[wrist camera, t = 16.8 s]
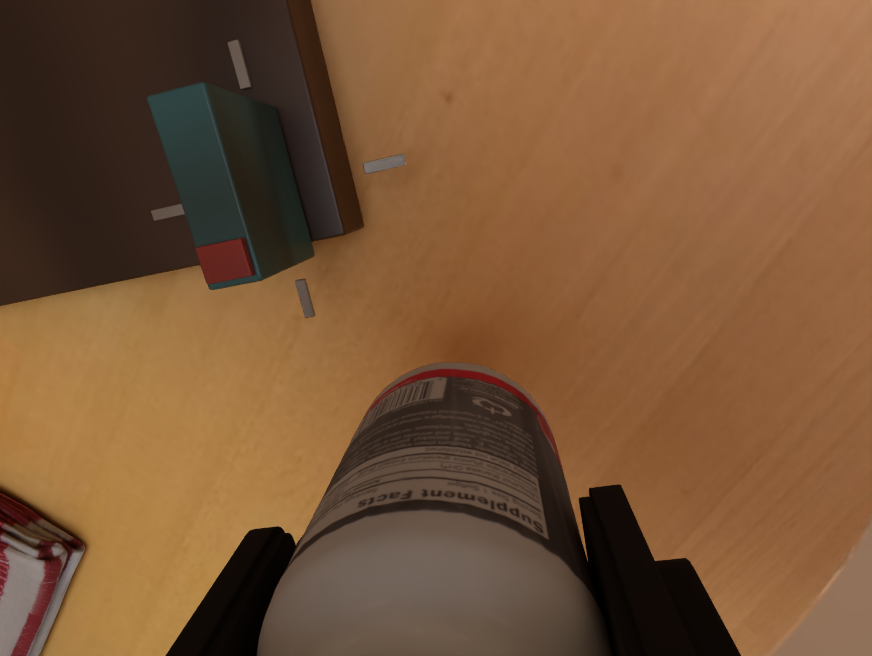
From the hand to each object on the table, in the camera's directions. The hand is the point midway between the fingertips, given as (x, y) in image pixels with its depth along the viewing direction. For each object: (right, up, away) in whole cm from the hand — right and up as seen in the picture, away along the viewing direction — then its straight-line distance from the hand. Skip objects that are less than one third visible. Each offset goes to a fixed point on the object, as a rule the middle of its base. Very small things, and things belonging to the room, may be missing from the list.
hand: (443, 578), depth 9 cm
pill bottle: (0, +1, +5) cm, 5 cm away
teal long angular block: (-6, +9, +8) cm, 14 cm away
